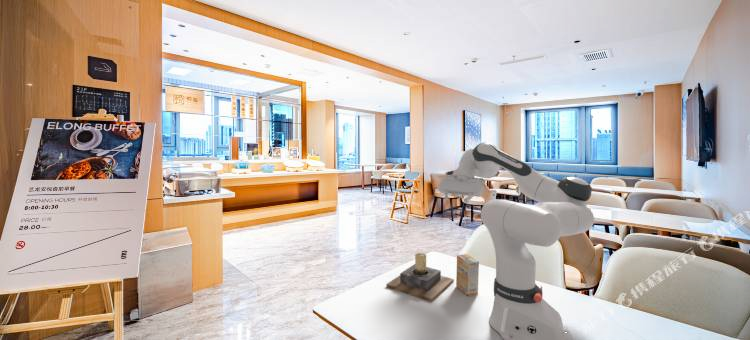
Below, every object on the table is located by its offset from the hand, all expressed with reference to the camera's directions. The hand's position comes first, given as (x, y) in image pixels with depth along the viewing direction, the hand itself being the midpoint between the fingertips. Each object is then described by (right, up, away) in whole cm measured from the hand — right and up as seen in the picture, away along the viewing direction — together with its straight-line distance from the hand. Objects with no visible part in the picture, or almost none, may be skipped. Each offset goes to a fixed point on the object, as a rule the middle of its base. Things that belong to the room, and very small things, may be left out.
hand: (455, 200), depth 137 cm
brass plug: (-18, -31, -13) cm, 38 cm away
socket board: (-18, -33, -13) cm, 39 cm away
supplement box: (-1, -33, -18) cm, 38 cm away
